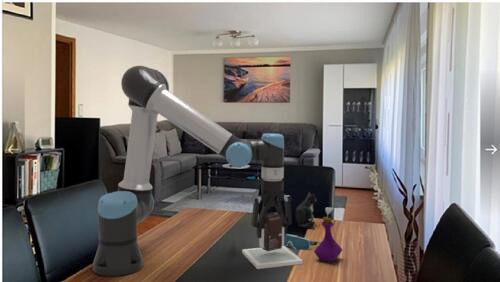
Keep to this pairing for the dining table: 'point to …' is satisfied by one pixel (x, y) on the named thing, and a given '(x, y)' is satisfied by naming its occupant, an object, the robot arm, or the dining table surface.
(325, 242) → the perfume bottle
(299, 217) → the figurine
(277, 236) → the box
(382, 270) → the dining table surface
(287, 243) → the sunglasses
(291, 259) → the picture frame
